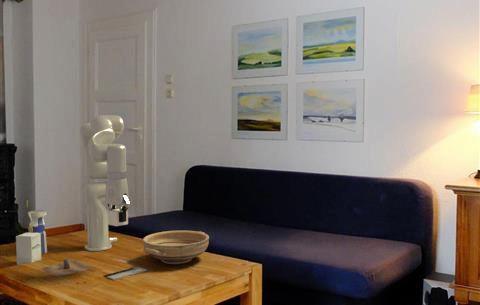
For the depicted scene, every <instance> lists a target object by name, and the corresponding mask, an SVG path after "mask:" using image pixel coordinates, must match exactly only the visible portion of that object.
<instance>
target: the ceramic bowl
mask: <svg viewBox="0 0 480 305" xmlns="http://www.w3.org/2000/svg"><path fill="white" fill-rule="evenodd" d="M209 240H210V236H209V235H208V234H207V233H205V232H203V231H195V230H167V231H161V232H155V233H151V234H148V235H146V236H145V237H143V239H142V241H143V249H142V251H143V253H145V254H148V255H149V256H151V257H153V258H155V259H158V260H160V261H161V262H162V263H164V264H168V265H182V264H187V263H190V262H191V261H192V259H194V258H196V257H198V256H200V255H202V254H203V253H204V252H205V251H206V250H207V249H208V246H209V242H210V241H209Z"/></svg>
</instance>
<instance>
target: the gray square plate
mask: <svg viewBox="0 0 480 305" xmlns="http://www.w3.org/2000/svg"><path fill="white" fill-rule="evenodd" d="M145 272H148V269H147V268H144V267H140V266H133V267H131V268H130V267H129V268H127V269H123V270H119V271H115V272H112V273H111V272H110V273H108V274H105V275H104V274H103V276H104V277H103V278H106V277H107V279H109V280H112V281H115V280H116V281H117V280H119V279H123V277H124V278H126V277H130V275H131V276H133V275H138V274H141V273H145ZM137 273H138V274H137Z"/></svg>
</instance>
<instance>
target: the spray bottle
mask: <svg viewBox="0 0 480 305" xmlns="http://www.w3.org/2000/svg"><path fill="white" fill-rule="evenodd" d="M28 207H29V202H28V199H27V200H26V208H28ZM47 215H48V214H47V211H46V210H44V209H37V210H30V211H27V216H28V218H29V219H30V223H29V224H28V225H29V226H28V227H27V228H28V233H41V255H43V254H47V253H48V248H47V247H48V245H47V234H46V233H47V232H46V229H45V228H46V227H45V226H46V223H45V216H47Z"/></svg>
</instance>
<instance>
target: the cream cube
mask: <svg viewBox="0 0 480 305" xmlns="http://www.w3.org/2000/svg"><path fill="white" fill-rule="evenodd" d="M107 211H108V226H113V227H119V226H125V225H128V224H129V210H128V209H127V212H126V219H127V221H126V222H119V212H120V210H119V208H116V209H114V210H109V209H107Z"/></svg>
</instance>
